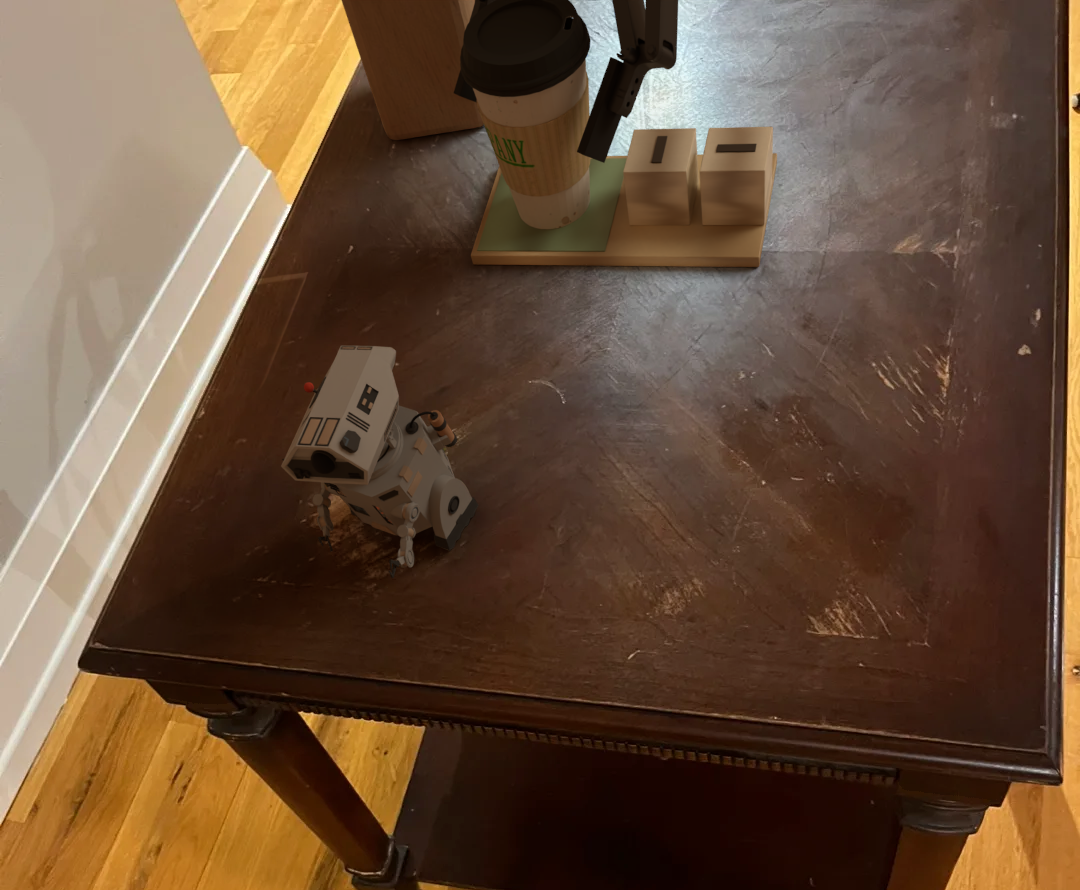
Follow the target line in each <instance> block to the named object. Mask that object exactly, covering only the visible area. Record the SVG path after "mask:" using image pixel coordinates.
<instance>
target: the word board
mask: <svg viewBox="0 0 1080 890" xmlns="http://www.w3.org/2000/svg"><path fill="white" fill-rule="evenodd" d="M706 135H707V136H706V139H705V144H704V149H703V153H702V154H701V153H700V154H698V143H697V142H698V141H697V129H696V128H695V127H690V128H689V127H687V128H686V127H683V128H681V127H680V128H648V129H647V128H644V129H643V128H642V129H641V128H640V129H638V128H637V129H636V128H635V129H633V131H632V135H631V140H630V144H629V148H628V152H627V155H607V157H606V160H605V163H603V162H600V161H598V160H595V159H592V158H590V165H589V178H590V203H589V206H588V208H587V210H586V211H585V213H584V214H583V215H582V216H581V217H580V218H578V219H577V220H576V221H574V222H572V223H571V224H569V225H566V226H564V227H560V228H556V229H538V228H534V227H532V226H529V225H528V224H526V223H525V222H524V221H523V220H522V219H521V217H520V215H519V213H518V210H517V207H516V204H515V202H514V199H513V196H512V193H511V191H510V188H509V186H508V185H507V183H506V181H505V180H504V177H503V174H502V172H501V169H500V166H499V165H498V169H497V172H496V175H495V178H494V181H493V183H492V187H491V191H490V193H489V197H488V200H487V203H486V206H485V209H484V213H483V216H482V219H481V222H480V225H479V228H478V231H477V234H476V238H475V240H474V243H473V247H472V250H471V253H470V258H471V262H472V265H482V266H483V265H485V266H487V265H489V266H490V265H493V266H494V265H496V266H498V265H499V266H500V265H501V266H502V265H503V266H593V267H594V266H595V267H596V266H597V267H598V266H599V267H601V266H603V267H604V266H606V267H607V266H609V267H616V266H617V267H702V268H703V267H705V268H706V267H708V268H709V267H710V268H711V267H712V268H713V267H717V268H719V267H720V268H721V267H722V268H727V267H728V268H729V267H730V268H759V267H760V265H761V259H762V252H763V247H764V241H765V236H766V229H767V224H768V219H769V218H768V217H769V213H770V207H771V206H770V205H771V200H772V199H771V198H772V194H773V189H774V183H775V177H776V171H777V165H778V153H777V152H774V153H773V151H774V150H773V146H774V127H773V126H739V127H738V126H737V127H733V126H732V127H709V128H708V130H707V133H706Z"/></svg>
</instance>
